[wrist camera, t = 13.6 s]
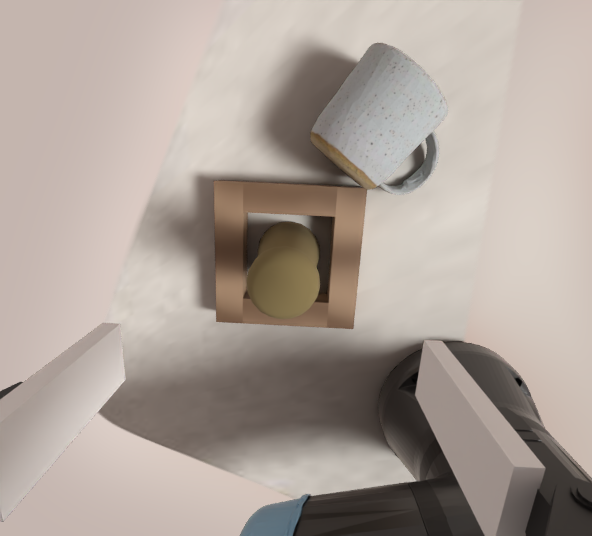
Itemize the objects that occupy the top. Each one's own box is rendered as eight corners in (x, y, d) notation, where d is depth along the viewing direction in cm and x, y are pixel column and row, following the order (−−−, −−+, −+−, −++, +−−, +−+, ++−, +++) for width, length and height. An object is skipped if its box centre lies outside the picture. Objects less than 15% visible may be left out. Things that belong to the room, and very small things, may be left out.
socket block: (349, 318, 35) (353, 329, 33) (222, 311, 35) (216, 321, 33) (362, 187, 32) (367, 188, 29) (220, 180, 32) (213, 181, 29)
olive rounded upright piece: (325, 275, 34) (335, 322, 24) (266, 288, 35) (250, 340, 24) (312, 214, 32) (316, 237, 22) (250, 229, 33) (225, 257, 22)
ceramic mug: (302, 140, 31) (303, 133, 23) (363, 58, 29) (385, 22, 22) (390, 214, 33) (417, 229, 25) (453, 142, 31) (502, 135, 23)
